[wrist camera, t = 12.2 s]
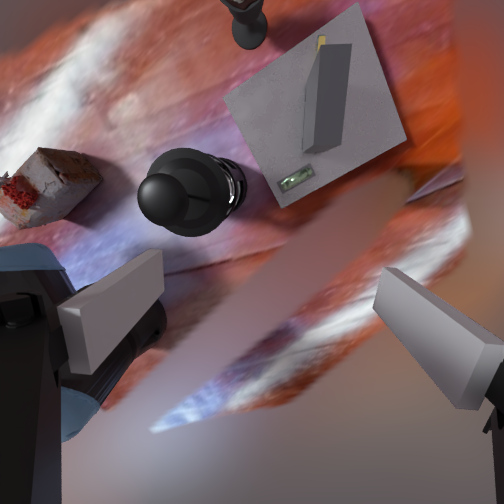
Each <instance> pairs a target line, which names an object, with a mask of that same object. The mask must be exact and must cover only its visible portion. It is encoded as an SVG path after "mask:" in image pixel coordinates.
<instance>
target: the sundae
mask: <svg viewBox="0 0 504 504" xmlns="http://www.w3.org/2000/svg"><path fill="white" fill-rule="evenodd" d="M220 1H221V2H222V3H223V4H224V5H226V6H227V7H228V8H229V11H230V12H231V14H232V15H233V17H234V19H233V22H232V34H233V37H234V40H235V41H236V43H237V44H238V45H239V46H240V47H242V48H244V49H253V48H256V47H257V46H259V45H260V44H261V43H262V41H263V40H264V38H265V35H266V32H267V22H266V18H265V16H264V14H263V12H262V11H261V10H262V6H263V1H264V0H220Z"/></svg>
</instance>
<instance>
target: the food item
mask: <svg viewBox="0 0 504 504" xmlns="http://www.w3.org/2000/svg"><path fill="white" fill-rule="evenodd" d="M7 172H8V171H7ZM7 172H6V173H5V174H4V176H3V177H0V213H1V214H2V215H3V216H4V217H5V218H6V219H7V220H9V221H10V222H11V223H12V224H13V225H15V226H16V227H17V228H18V229H19V230H20V229H26V228H32V227H38V226H42V225H44V226H45V225H46V224H47V223H51V222H55V221H58V220H61V219H62V218H64V217H65V216H66V215H67V214H69V212H70V211H71V210H72V209H73V208H74V207H75V206H76V205H77V204H78V203H79V202H81V201H82V200H83V199H84V198H85V197H86V196H87V195H88V194H89V193H90V192H91V191H92V190H93V189H94V188H95V186H96V185H97V184H99V182H100V181H101V179H103V178H102V177H101V175H100V174H99V172H98V171H97V170H96V169H95V168H94V167H93V166H92V165H91V164H90V163H89V162H88V161H87V160H86V159H85V158H84V156H82V155H81V154H80V153H78V152H76V151H66V150H57V149H50V148H41V147H38V148H37V150H36V152H34V153H33V154H32V155H31V156H30V157H29V158H28V159H27V161H26V162H25V163H24V164H23V165H22V166H21V167H20V168H19V169H18V170H17V172H16V173H15V174H14V175H13V176H12V177H10V178H7V177H8V176H9V175H8V173H7Z"/></svg>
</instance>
